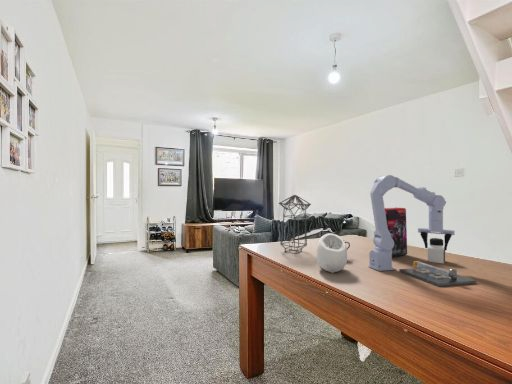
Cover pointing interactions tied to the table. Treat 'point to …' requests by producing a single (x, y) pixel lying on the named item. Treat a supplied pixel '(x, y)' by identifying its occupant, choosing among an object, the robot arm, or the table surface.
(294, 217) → the geometric lantern
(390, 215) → the graphics card box
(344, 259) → the skull planter
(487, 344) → the table surface
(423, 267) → the cable arm
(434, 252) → the medicine bottle
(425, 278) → the panel
